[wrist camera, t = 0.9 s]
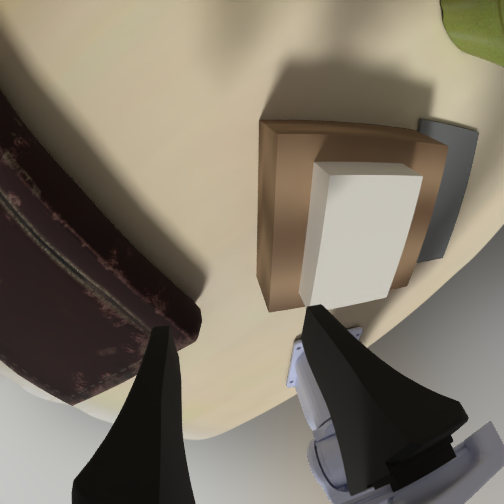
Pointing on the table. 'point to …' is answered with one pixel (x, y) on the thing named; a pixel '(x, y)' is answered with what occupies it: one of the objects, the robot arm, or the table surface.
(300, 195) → the brown shallow square box
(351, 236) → the off-white rectangular block
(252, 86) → the table surface
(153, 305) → the diary
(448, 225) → the mat
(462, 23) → the plant pot
